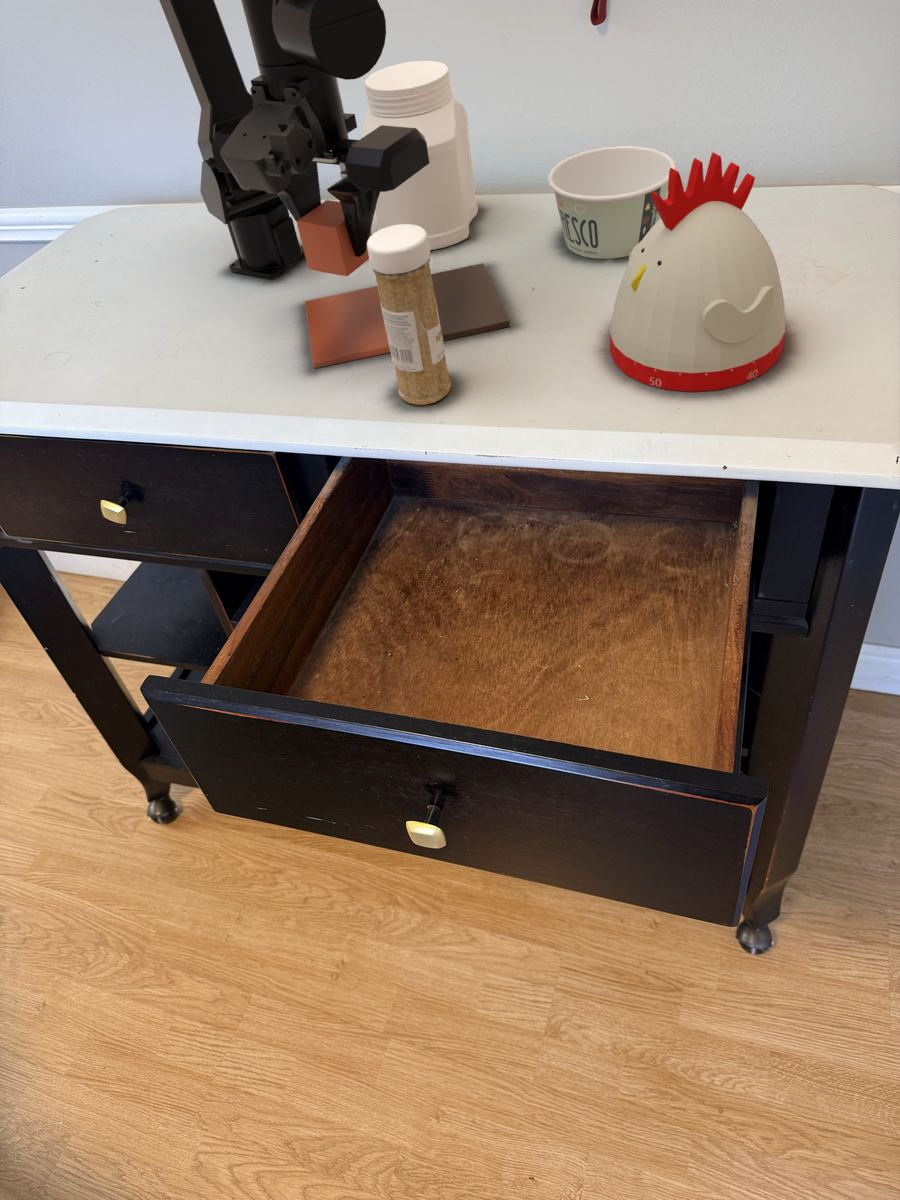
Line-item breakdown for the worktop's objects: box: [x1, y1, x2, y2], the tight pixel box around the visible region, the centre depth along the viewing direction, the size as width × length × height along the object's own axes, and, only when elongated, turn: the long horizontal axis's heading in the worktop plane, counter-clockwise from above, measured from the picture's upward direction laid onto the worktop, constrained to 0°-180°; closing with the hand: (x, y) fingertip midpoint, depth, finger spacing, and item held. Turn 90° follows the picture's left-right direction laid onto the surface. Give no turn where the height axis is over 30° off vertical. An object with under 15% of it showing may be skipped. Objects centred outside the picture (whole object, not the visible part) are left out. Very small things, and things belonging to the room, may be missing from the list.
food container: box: [547, 145, 677, 260], centre depth 88 cm, size 12×12×6 cm
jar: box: [361, 60, 479, 251], centre depth 93 cm, size 12×10×15 cm
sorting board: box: [304, 262, 511, 369], centre depth 85 cm, size 18×12×1 cm, turn 100°
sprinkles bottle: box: [367, 224, 452, 406], centre depth 71 cm, size 5×5×14 cm
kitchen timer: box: [609, 151, 786, 393], centre depth 70 cm, size 14×14×15 cm
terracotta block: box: [296, 199, 373, 277], centre depth 79 cm, size 4×4×4 cm
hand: (339, 251), depth 80 cm, fingers closed on terracotta block, 4 cm apart
